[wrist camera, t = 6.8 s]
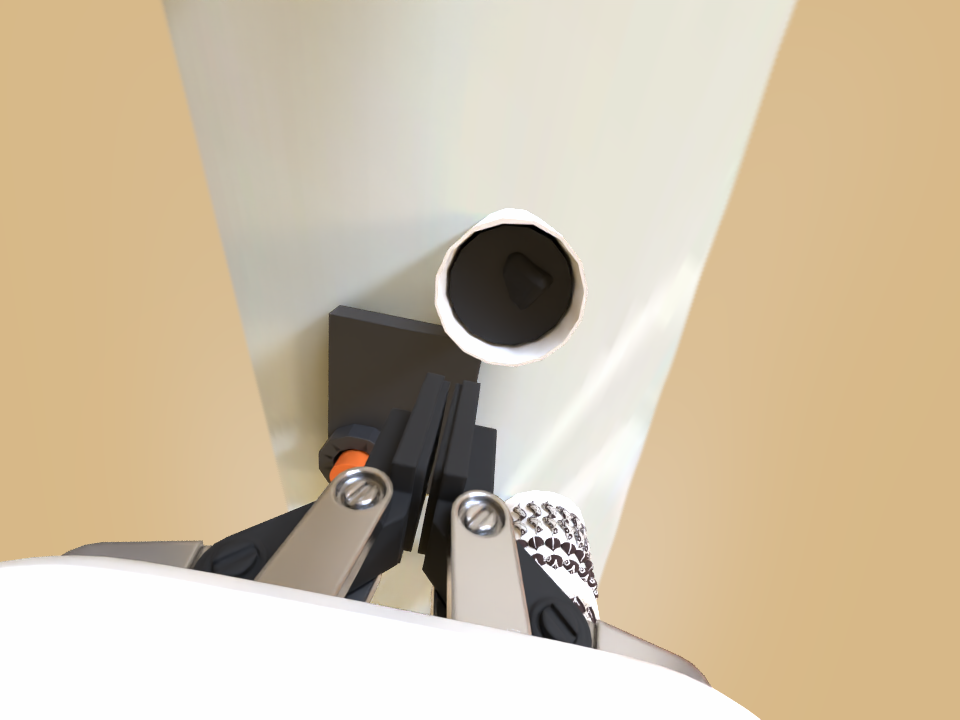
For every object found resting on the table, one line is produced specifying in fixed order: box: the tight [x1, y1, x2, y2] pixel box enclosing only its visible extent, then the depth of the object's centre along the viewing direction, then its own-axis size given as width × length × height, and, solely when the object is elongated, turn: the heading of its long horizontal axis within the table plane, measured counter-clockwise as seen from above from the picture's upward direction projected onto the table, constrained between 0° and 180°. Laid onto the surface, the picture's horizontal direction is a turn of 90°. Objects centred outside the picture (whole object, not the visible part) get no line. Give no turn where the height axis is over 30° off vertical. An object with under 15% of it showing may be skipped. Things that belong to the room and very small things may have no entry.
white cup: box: [435, 208, 588, 367], centre depth 21 cm, size 7×7×10 cm
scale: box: [319, 305, 481, 494], centre depth 30 cm, size 15×11×4 cm
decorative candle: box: [505, 491, 600, 624], centre depth 25 cm, size 9×9×25 cm
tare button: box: [330, 449, 369, 481], centre depth 30 cm, size 3×3×2 cm
